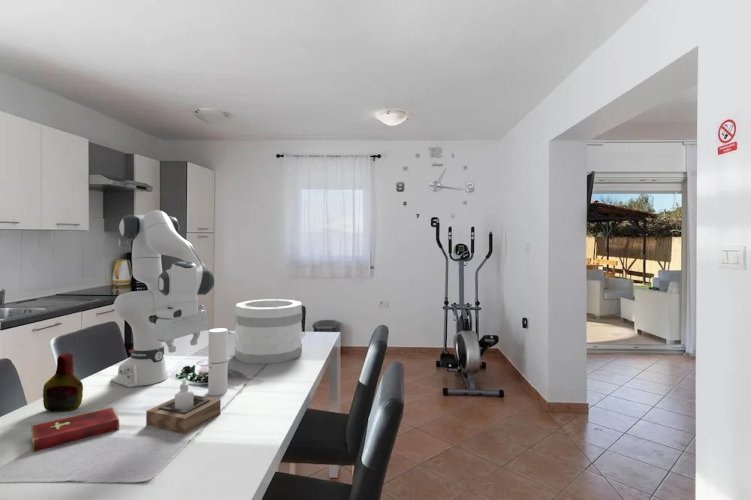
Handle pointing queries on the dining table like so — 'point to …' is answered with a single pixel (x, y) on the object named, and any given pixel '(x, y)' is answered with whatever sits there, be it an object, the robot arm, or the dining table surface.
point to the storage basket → (268, 331)
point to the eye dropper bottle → (184, 397)
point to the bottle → (63, 387)
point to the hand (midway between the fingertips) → (183, 348)
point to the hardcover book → (73, 428)
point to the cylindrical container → (217, 361)
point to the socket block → (183, 415)
